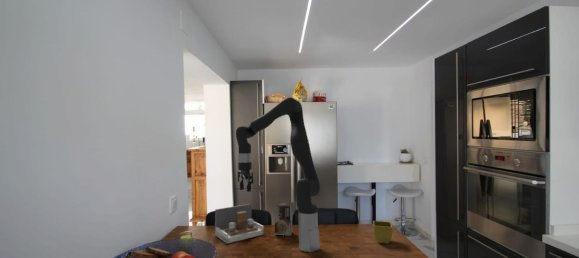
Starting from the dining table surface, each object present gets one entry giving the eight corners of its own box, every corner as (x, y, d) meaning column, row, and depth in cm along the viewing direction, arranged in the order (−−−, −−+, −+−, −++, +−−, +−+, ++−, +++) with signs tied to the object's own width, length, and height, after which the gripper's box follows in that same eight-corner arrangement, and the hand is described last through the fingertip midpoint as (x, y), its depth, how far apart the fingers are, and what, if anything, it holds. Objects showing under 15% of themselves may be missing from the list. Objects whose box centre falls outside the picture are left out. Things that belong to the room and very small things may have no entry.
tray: (257, 229, 143) (257, 211, 144) (230, 236, 134) (230, 216, 135) (251, 226, 150) (251, 208, 150) (224, 232, 140) (224, 213, 141)
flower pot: (391, 239, 133) (391, 221, 134) (393, 246, 125) (392, 227, 125) (373, 238, 136) (373, 220, 136) (374, 244, 127) (373, 225, 128)
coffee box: (292, 232, 147) (291, 203, 148) (290, 236, 140) (290, 205, 141) (276, 231, 147) (275, 203, 148) (274, 235, 141) (274, 205, 142)
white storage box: (263, 234, 143) (263, 208, 144) (226, 243, 130) (226, 215, 131) (250, 227, 156) (250, 203, 157) (215, 234, 143) (215, 209, 144)
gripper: (257, 161, 141) (257, 191, 140) (245, 160, 153) (245, 188, 151) (244, 162, 137) (245, 193, 136) (233, 161, 148) (233, 190, 147)
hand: (245, 190), depth 144 cm, fingers open, 8 cm apart
